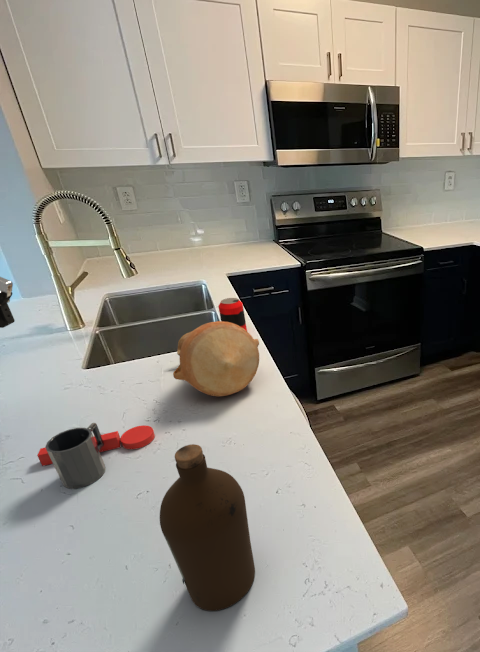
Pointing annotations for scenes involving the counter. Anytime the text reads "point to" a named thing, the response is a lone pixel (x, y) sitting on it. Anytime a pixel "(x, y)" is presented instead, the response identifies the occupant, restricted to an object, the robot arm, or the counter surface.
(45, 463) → the spoon
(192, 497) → the olive oil
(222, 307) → the soda can
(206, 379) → the jug
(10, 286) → the robot arm
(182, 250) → the counter surface
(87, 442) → the mug
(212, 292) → the counter surface
